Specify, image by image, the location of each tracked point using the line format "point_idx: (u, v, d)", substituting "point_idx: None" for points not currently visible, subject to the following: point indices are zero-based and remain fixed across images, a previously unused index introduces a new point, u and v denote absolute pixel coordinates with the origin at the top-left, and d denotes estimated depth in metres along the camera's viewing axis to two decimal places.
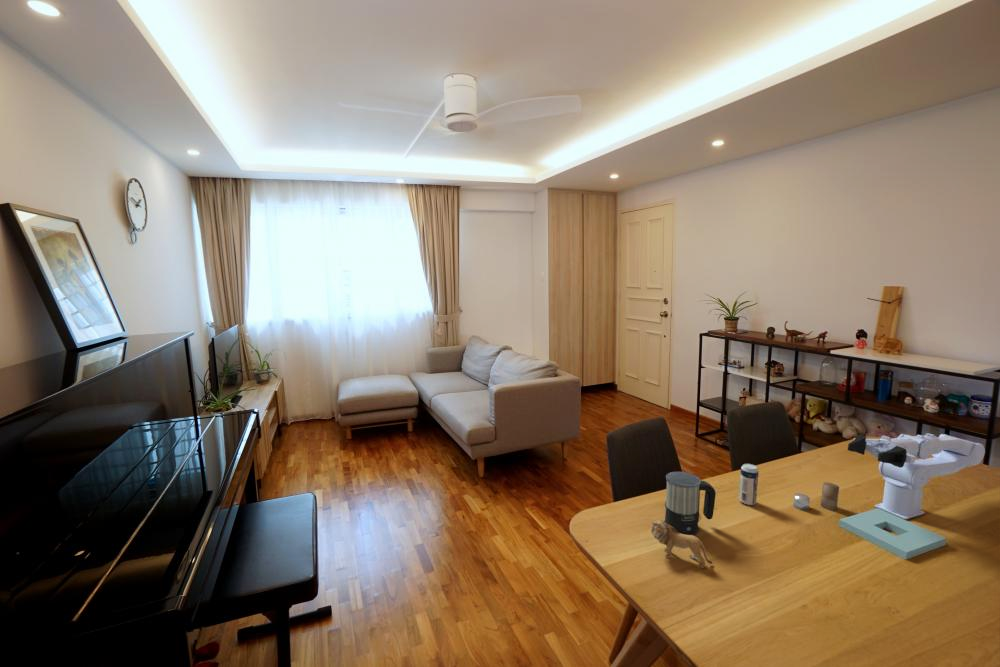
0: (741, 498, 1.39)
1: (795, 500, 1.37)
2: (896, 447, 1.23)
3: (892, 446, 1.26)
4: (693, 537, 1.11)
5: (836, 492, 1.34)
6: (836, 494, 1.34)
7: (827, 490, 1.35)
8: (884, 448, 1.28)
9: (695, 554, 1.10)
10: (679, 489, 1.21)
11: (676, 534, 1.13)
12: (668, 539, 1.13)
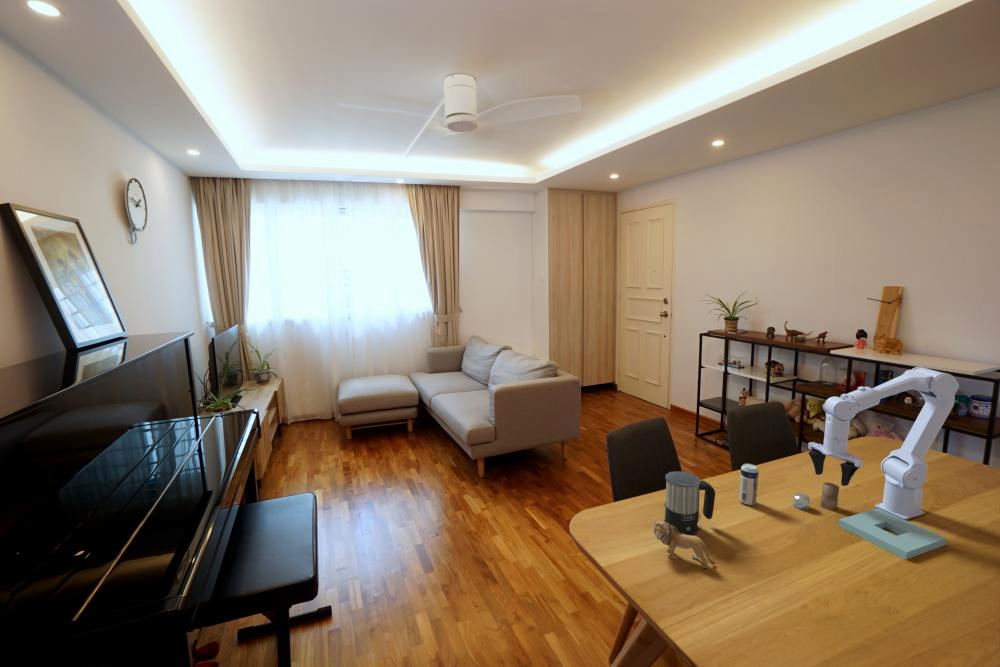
0: (741, 498, 1.39)
1: (795, 500, 1.37)
2: (842, 467, 1.30)
3: None
4: (696, 538, 1.11)
5: (836, 492, 1.34)
6: (836, 494, 1.34)
7: (827, 490, 1.35)
8: None
9: (698, 555, 1.09)
10: (678, 489, 1.22)
11: (678, 534, 1.13)
12: (670, 539, 1.12)
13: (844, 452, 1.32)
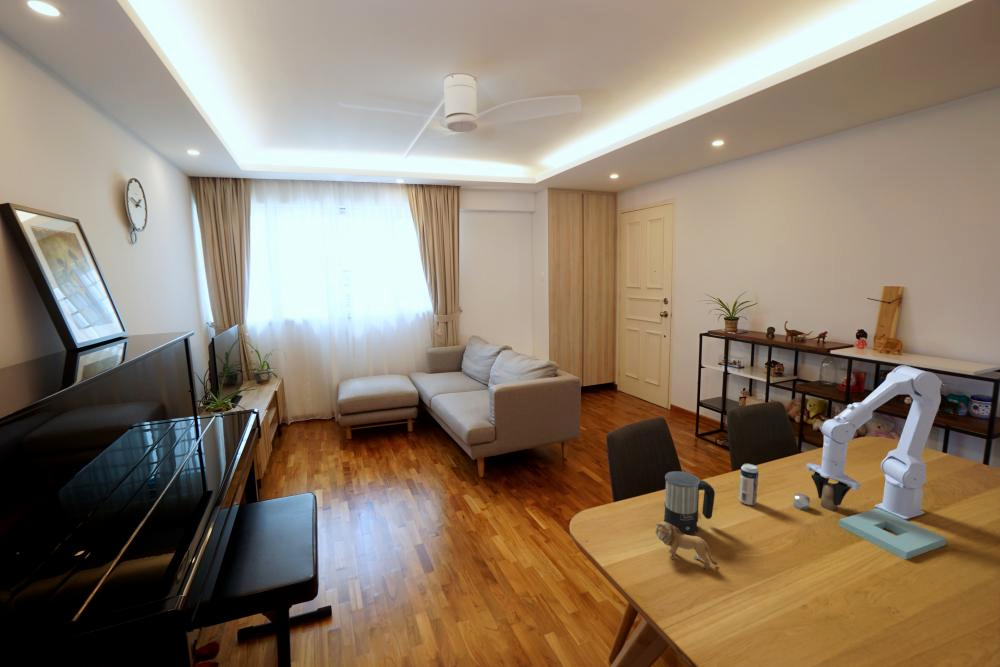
0: (741, 498, 1.39)
1: (795, 500, 1.37)
2: (834, 487, 1.33)
3: None
4: (698, 538, 1.10)
5: None
6: None
7: (827, 490, 1.35)
8: None
9: (700, 555, 1.09)
10: (677, 489, 1.22)
11: (680, 535, 1.12)
12: (672, 540, 1.12)
13: (842, 474, 1.33)
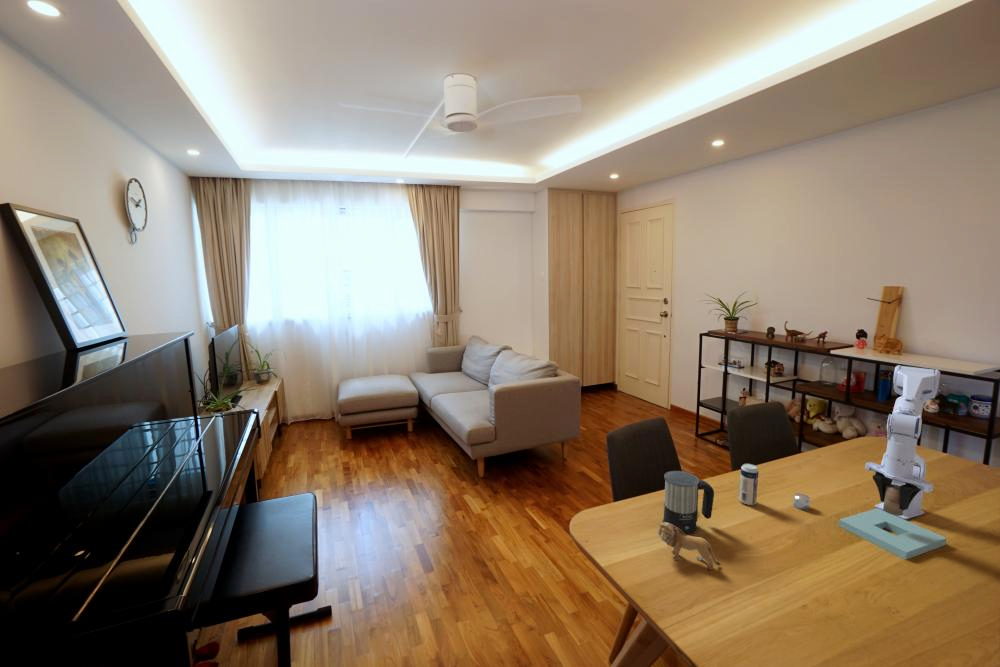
0: (741, 498, 1.39)
1: (795, 500, 1.37)
2: (902, 489, 1.17)
3: None
4: (701, 539, 1.10)
5: None
6: None
7: (892, 493, 1.19)
8: None
9: (703, 556, 1.09)
10: (677, 488, 1.22)
11: (683, 536, 1.12)
12: (675, 541, 1.12)
13: (910, 475, 1.17)
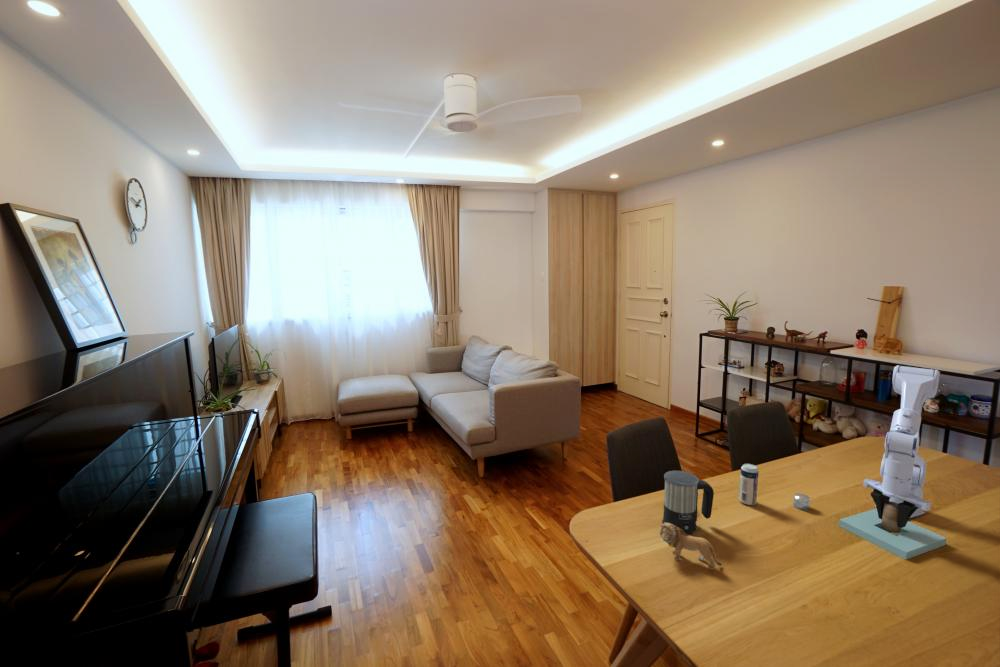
0: (741, 498, 1.39)
1: (795, 500, 1.37)
2: (899, 507, 1.18)
3: None
4: (702, 539, 1.10)
5: None
6: None
7: (890, 510, 1.20)
8: None
9: (705, 556, 1.09)
10: (676, 488, 1.22)
11: (684, 536, 1.12)
12: (677, 541, 1.12)
13: (908, 493, 1.18)
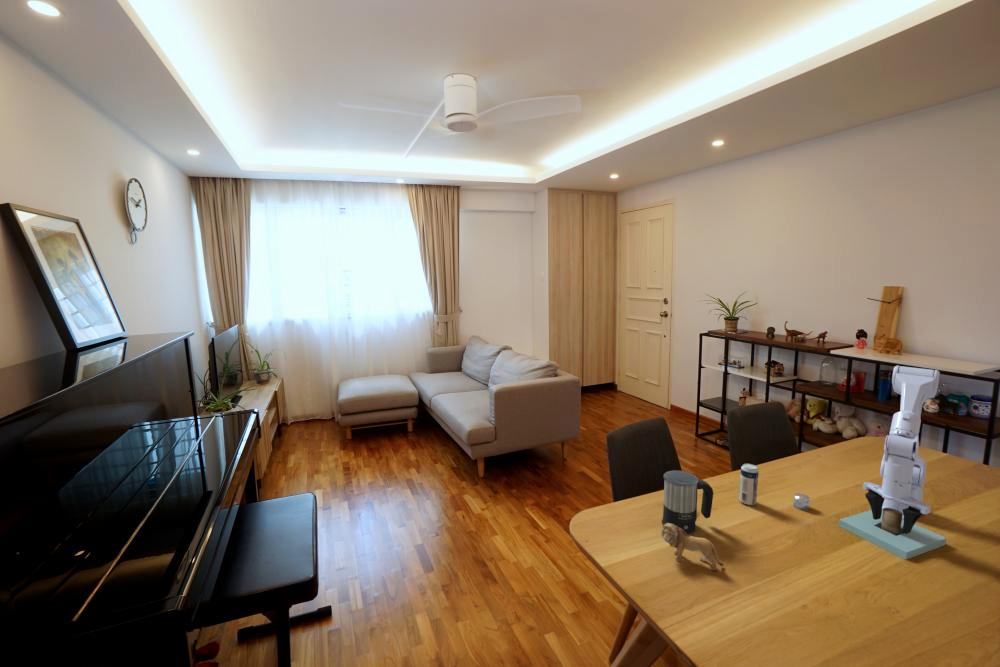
0: (741, 498, 1.39)
1: (795, 500, 1.37)
2: (904, 513, 1.17)
3: None
4: (704, 540, 1.10)
5: (899, 519, 1.19)
6: (899, 521, 1.20)
7: (889, 517, 1.20)
8: None
9: (706, 557, 1.09)
10: (676, 488, 1.22)
11: (686, 537, 1.12)
12: (679, 542, 1.11)
13: (907, 496, 1.18)
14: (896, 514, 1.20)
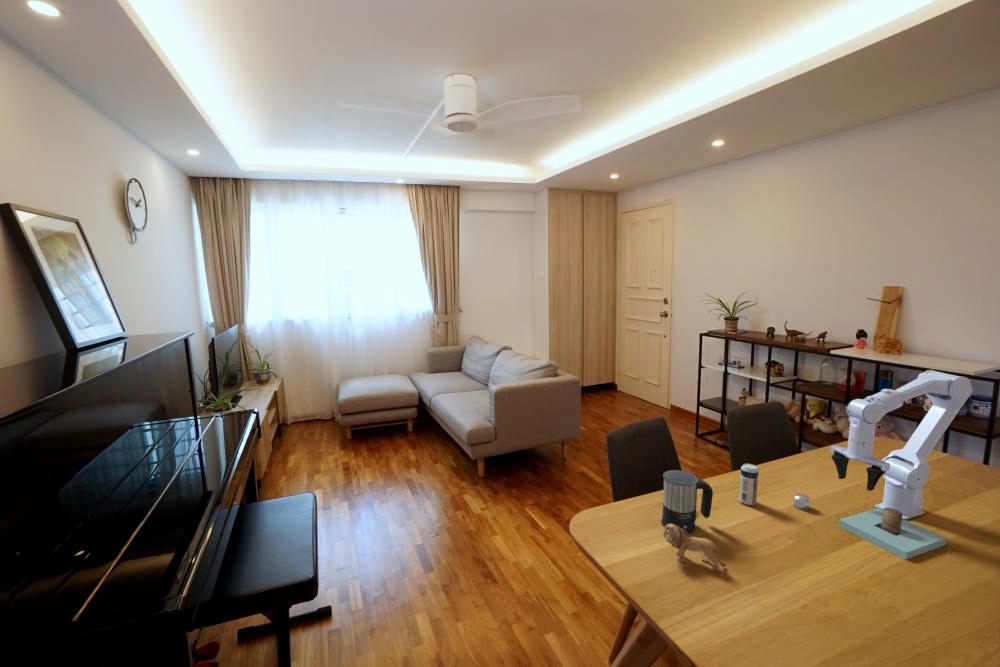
0: (741, 498, 1.39)
1: (795, 500, 1.37)
2: (868, 471, 1.27)
3: None
4: (706, 540, 1.10)
5: (899, 519, 1.20)
6: (899, 521, 1.20)
7: (889, 517, 1.20)
8: None
9: (709, 557, 1.08)
10: (675, 487, 1.22)
11: (688, 537, 1.11)
12: (681, 542, 1.11)
13: (870, 456, 1.28)
14: (896, 514, 1.20)
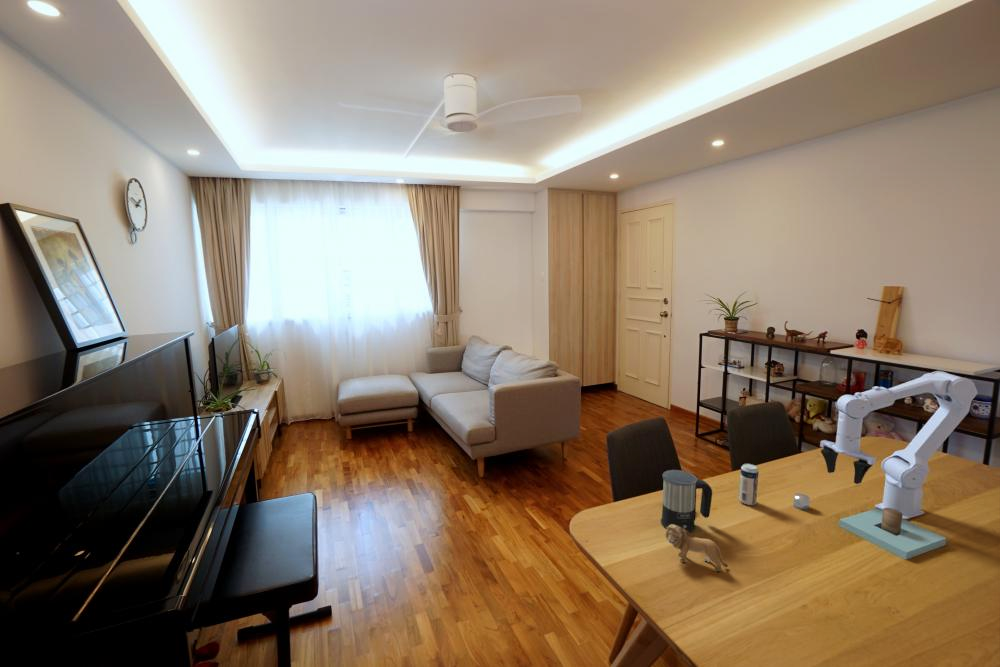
0: (741, 498, 1.39)
1: (795, 500, 1.37)
2: (855, 465, 1.30)
3: None
4: (708, 541, 1.09)
5: (899, 519, 1.19)
6: (899, 521, 1.20)
7: (889, 517, 1.20)
8: None
9: (711, 558, 1.08)
10: (675, 487, 1.23)
11: (690, 538, 1.11)
12: (683, 543, 1.11)
13: (857, 450, 1.32)
14: (896, 514, 1.20)
